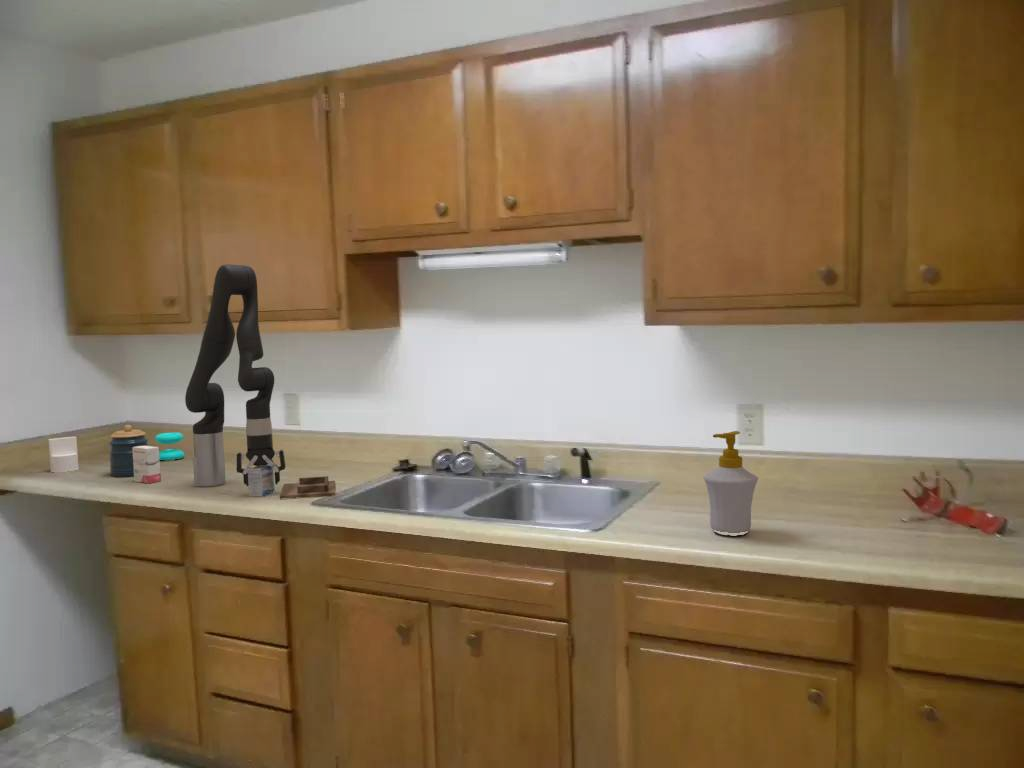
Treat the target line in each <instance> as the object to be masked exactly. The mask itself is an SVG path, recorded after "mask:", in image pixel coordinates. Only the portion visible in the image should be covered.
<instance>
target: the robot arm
mask: <svg viewBox="0 0 1024 768" xmlns="http://www.w3.org/2000/svg"><path fill="white" fill-rule="evenodd" d="M214 277H215V278H214V283H213V290H212V296H211V302H210V303H211V304H210V307H209V308H210V309H209V312H208V317H207V322H206V325H205V329H204V331H203V335H202V340H201V344H200V346H199V347H200V348H199V352H198V355H197V360H196V364H195V366H194V370H193V372H192V374H191V377H190V380H189V382H188V385H187V388H186V390H185V397H184V401H185V406H186V409H187V410H188V412H191V413H194V414H196V413H199V414H200V413H204V416H203V417H202V418H201V419H200V420H198V421H196V422H195V423H194V424H193V425H192V439H193V440H192V441H193V455H194V456H193V457H192V460H193V461H192V462H193V463H192V465H193V481H194V487H203V488H205V487H207V488H208V487H215V486H221V485H224V484H226V467H225V465H226V463H225V445H224V444H225V443H224V425H225V394H224V390H223V388H222V386H221V385H220V384H219V383H216V382H210V381H211V378H212V377H213V375H214V374H215V372H216V371H217V370H219V369H220V367H221V366H222V365H223V364H224V363H225V361H227V359H228V357H230V354H231V351H232V349H233V345H234V342H235V338H236V342H237V349H238V353H239V363H238V373H237V382H238V385H239V387H240V389H241V390H243V391H244V392H249V393H250V392H256V391H257V395H256V396H255V397H253V398H251V399H248V400H247V401H246V402H245V416H246V418H245V419H246V423H245V433H246V450H247V451H246V452H241V451H239V452H237V454H236V473H239V474H242V476H243V485H245V486H246V487H249V481H248V469H251V468H253V466H255V467H257V466H260V465H263V466H266V465H270V466H271V467H272V468H273V471H274V485H278V484H279V482H280V480H281V474H280V473H281V472H282V471H284V470H285V469H286V461H285V460H286V459H285V450H284V449H280V450H274V444H273V443H274V442H273V426H272V420H271V406H270V405H271V399H272V395H273V391H274V386H275V375H274V373H273V371H272V370H271V369H270V368H269V367H267V366H263V367H262V366H259V367H253V363H254V362H256V361H259V360H261V359H262V358H263V357H264V349H263V344H262V343H263V342H262V339H261V338H262V337H261V333H260V325H259V324H260V323H259V301H258V299H259V297H258V281H257V275H256V273H255V270H254V269H253V268H252V267H251V266H249V265H245V264H243V265H242V264H228V263H227V264H222V265H220V266H219V267H218V268H217V271H216V274H215V276H214ZM231 296H241V298H242V302H243V303H242V304H243V307H242V308H243V309H242V313H241V317H240V319H239V322H238V323H237V329H236V330H235V327H234V323H233V322H232V319H231V317H230V313H229V304H230V299H231ZM275 455H276V457H277V458H279V463H280V465H279V466H278V465H277V464H276V462H275V461H274V460H273V458H274V456H275ZM245 458H246V459H247V460H248V461H249V462H248V463H247V465H246V466H245V468H242V467H243V466H242V465H243V464H242V461H243V460H244V459H245Z"/></svg>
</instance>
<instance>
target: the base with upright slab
mask: <svg viewBox="0 0 1024 768" xmlns="http://www.w3.org/2000/svg"><path fill="white" fill-rule="evenodd" d="M77 438H78V437H77V436H66V437H56V438H48V448H49V449H48V450H49V463H50V466H49V467H50V473H51V472H66V473H68V472H67V471H73V472H75V471H74V470H77V471H79V470H78V469H79V457H78V455H79V453H78V443H77V442H78V440H77Z"/></svg>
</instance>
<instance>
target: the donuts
mask: <svg viewBox="0 0 1024 768" xmlns="http://www.w3.org/2000/svg"><path fill="white" fill-rule="evenodd" d="M183 438H184V435H183V433H181V432H177V431H176V432H162V433H158V434H157V435H155V441H156V442H157V443H158V444H162V445H172V444H177V443H180V442H181V441H183V440H184V439H183ZM184 456H185V453H184V451H183V450H181V449H177V448H169V449H164V450H160V451H159V460H173V459H179V458H181V459H183V458H184ZM182 457H183V458H182ZM179 460H180V459H179ZM173 461H174V460H173Z"/></svg>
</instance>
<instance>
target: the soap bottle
mask: <svg viewBox="0 0 1024 768" xmlns="http://www.w3.org/2000/svg"><path fill="white" fill-rule="evenodd" d="M739 434H741V432H740V431H739V430H734V431H730V432H723V433H715V434H713V435H712V437H713V438H719V439H724V440H725V443H726V445H727V448H725V449H723V451H722V455H720V456H719V457H718V467H716V468H714V469H713V470H712V471H708V472H706V473H705V474H704V475H703V479H704V482H705V486H706V489H707V494H708V500H709V501H708V502H709V505H710V506H709V515H710V517H709V525H710V528H712V529H713V530H716V531H720V532H728V533H740V532H746V531H749V532H750V530H751V527H752V503H753V497H754V494H755V493H754V492H755V490H756V485H757V483H758V481H759V478H758V476H757V475H756V474H754V473H752V472H750V471H748V470H747V469H746V468H744V467H743V457H742V456H739V450H738V449H737V448H735V447H734V446H735V444H736V435H739ZM712 529H711V530H712ZM713 530H712V531H713Z"/></svg>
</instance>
